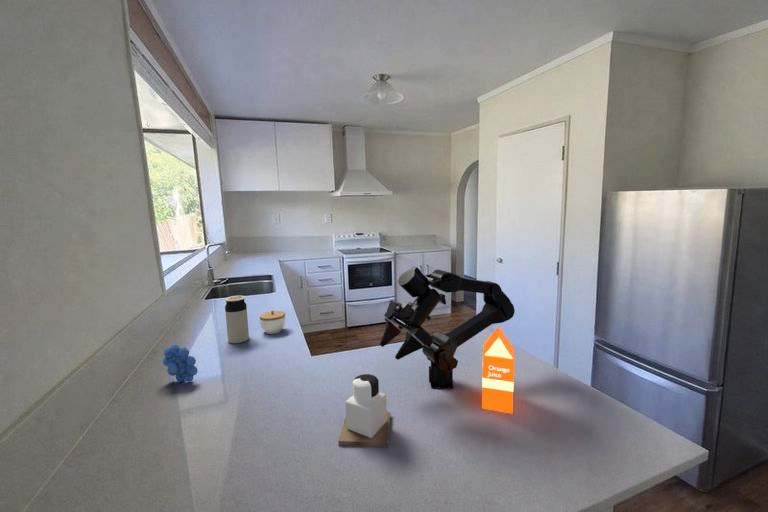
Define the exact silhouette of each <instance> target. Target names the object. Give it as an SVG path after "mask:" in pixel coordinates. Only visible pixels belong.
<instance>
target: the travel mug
mask: <svg viewBox="0 0 768 512" xmlns="http://www.w3.org/2000/svg"><path fill="white" fill-rule="evenodd" d="M245 299H246V297H245V296H244V295H232V296H228V297H225V298H224V301H225V302H226V304H225V306H224V311H225V313H224V314H225V323H226V333H227V342H228V343H230V344H241V343H244V342H246V341H248V340H249V338H250V334H249V322H248V320H249V319H248V310H247V309H248V308H247V307H248V306H247V303H246V302H245Z"/></svg>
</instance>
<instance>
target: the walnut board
mask: <svg viewBox="0 0 768 512" xmlns="http://www.w3.org/2000/svg"><path fill="white" fill-rule="evenodd" d="M390 424H391V411H387V421H386V423H385V424H384V425H383V426H382V427H381V428H380V429H379V431H378V432H377V433H376V434H375V435H374V436H373V437H372V438H369V437H366V436H364V435H361V434H359V433H356V432H354V431H351V430H349V429H347V425H346V417H345V419H344V421H343V425H342V428H341V431H340V434H339V437H338V446H357V447H358V446H359V447H385V448H386V447H389V446H388V445H389V436H390V435H389V434H390Z"/></svg>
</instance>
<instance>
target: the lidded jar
mask: <svg viewBox="0 0 768 512" xmlns="http://www.w3.org/2000/svg"><path fill="white" fill-rule="evenodd" d="M259 320H260V327H261V329H262V330H263V331H264V332H266V333H267V334H271V335H272V334H273V335H275V334H278V333H280V332H282V330H283V329H284V327H285V324H286V312H285V311H283V310H269V311H266V312H263V313H261V314H260V315H259Z"/></svg>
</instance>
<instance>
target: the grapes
mask: <svg viewBox="0 0 768 512" xmlns="http://www.w3.org/2000/svg"><path fill="white" fill-rule="evenodd" d="M163 355H164V358H163V359H162V364H163V365H164V366H166V367H167V370H166V371H167V374H168V375H169V376H172V377H175V380H176V381H177V382H179V383H181V382H184V381H185V382H189V383H190V382H192V381H193V379H194V376H196V375H197V374H198V367H197V366H196V363H197V359H196V358H195V357H194V356H192V355H190V351H189V350H188V348H187V347H180V346H179V345H178V344H172V345H171V346H170V347H168V348H165V349H164V351H163Z"/></svg>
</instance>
